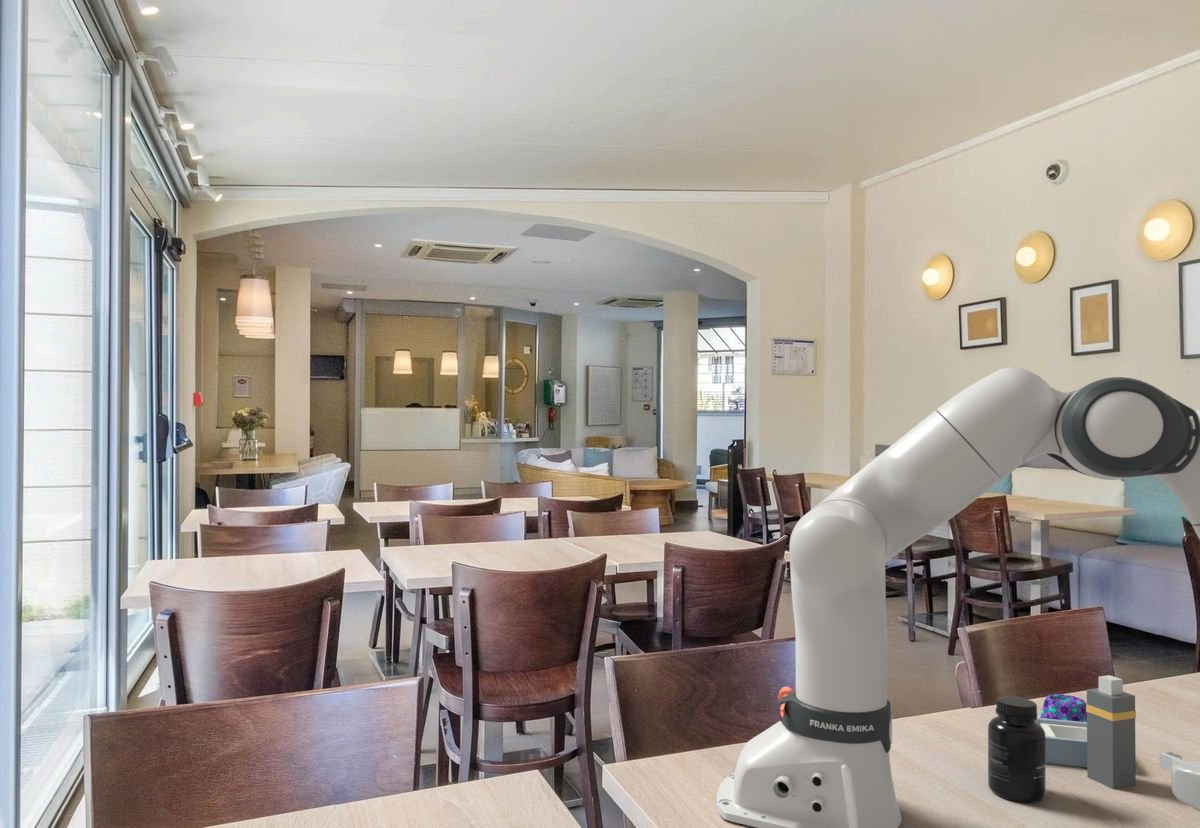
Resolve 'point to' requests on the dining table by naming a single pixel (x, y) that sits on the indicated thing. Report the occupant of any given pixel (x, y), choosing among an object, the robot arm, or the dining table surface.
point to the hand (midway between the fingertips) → (1191, 754)
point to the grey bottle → (1111, 734)
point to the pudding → (1064, 708)
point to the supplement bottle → (1016, 751)
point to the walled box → (1065, 742)
